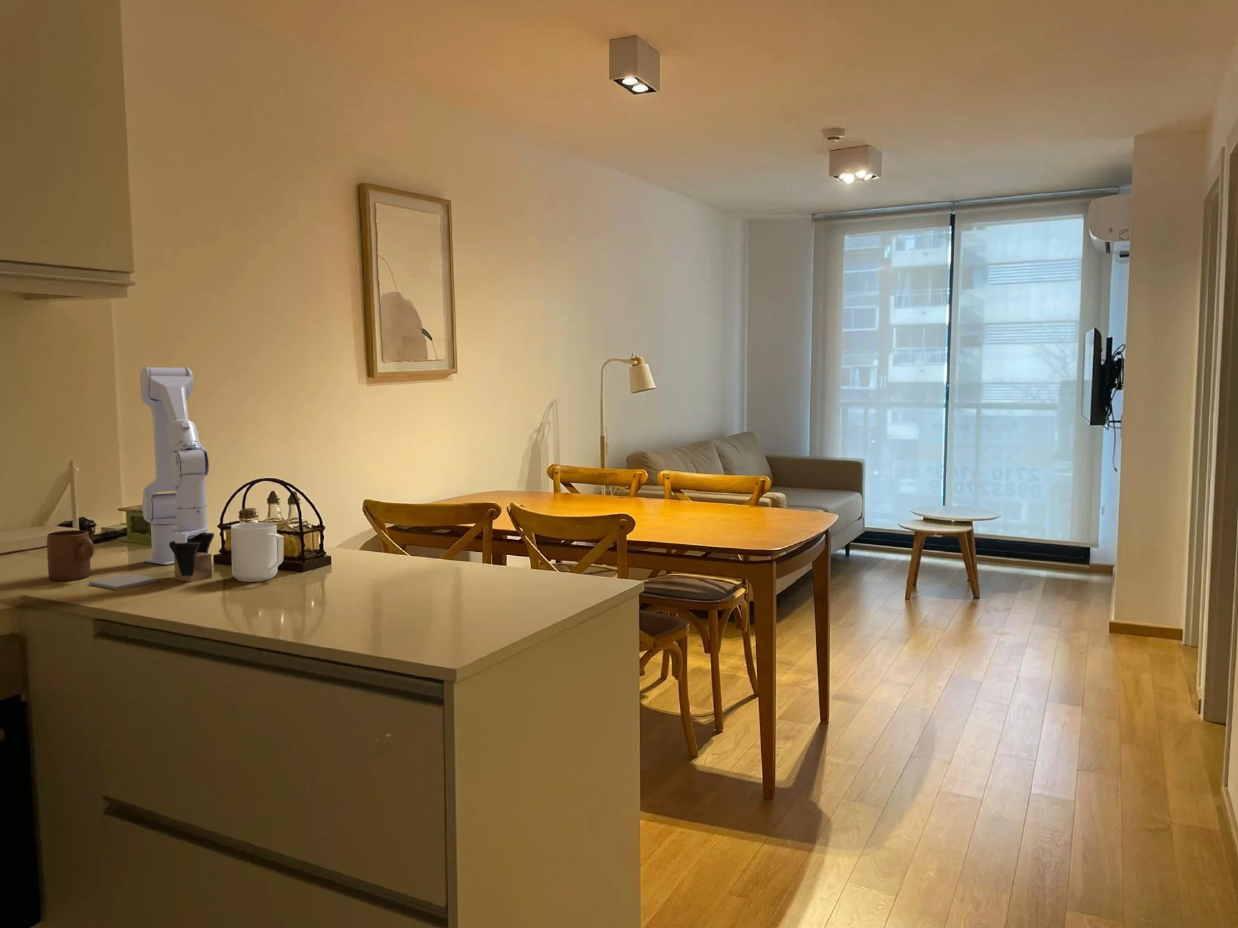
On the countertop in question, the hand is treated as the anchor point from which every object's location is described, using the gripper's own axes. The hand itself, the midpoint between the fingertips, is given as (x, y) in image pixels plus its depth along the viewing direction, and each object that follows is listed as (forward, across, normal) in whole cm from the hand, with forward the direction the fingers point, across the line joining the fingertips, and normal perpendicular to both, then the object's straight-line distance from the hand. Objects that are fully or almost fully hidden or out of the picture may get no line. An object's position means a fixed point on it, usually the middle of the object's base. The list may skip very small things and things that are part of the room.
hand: (193, 571), depth 193 cm
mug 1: (+2, -1, -24) cm, 24 cm away
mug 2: (+2, +1, +14) cm, 14 cm away
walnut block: (+1, 0, 0) cm, 1 cm away
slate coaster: (+1, +3, -12) cm, 13 cm away
